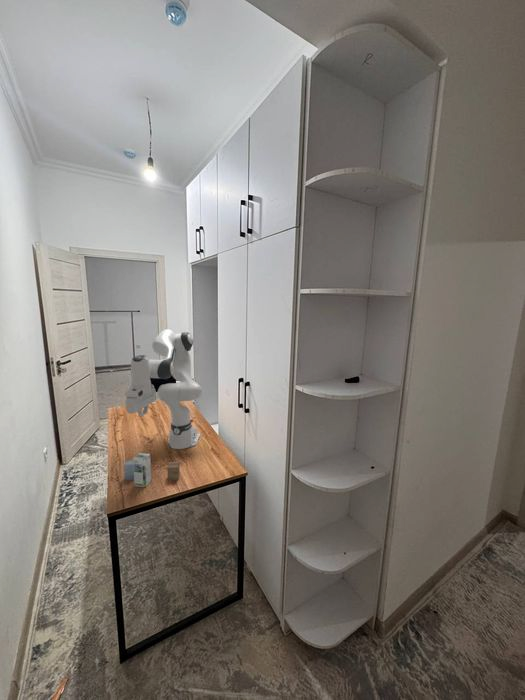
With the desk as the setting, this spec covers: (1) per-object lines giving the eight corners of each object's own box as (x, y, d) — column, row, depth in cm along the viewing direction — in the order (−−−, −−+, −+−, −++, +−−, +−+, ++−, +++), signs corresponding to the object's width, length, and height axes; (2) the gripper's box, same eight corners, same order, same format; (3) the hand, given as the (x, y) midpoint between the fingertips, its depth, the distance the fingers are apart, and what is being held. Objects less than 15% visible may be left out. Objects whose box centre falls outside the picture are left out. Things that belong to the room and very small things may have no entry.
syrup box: (134, 486, 138) (132, 458, 135) (141, 479, 143) (139, 452, 141) (145, 487, 137) (143, 459, 135) (151, 480, 143) (150, 453, 140)
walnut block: (169, 474, 148) (168, 462, 146) (179, 474, 148) (179, 461, 147) (167, 480, 143) (167, 467, 142) (178, 479, 144) (177, 466, 142)
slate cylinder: (128, 474, 147) (128, 459, 146) (137, 475, 147) (136, 461, 145) (122, 480, 143) (121, 465, 141) (131, 481, 142) (130, 466, 140)
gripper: (147, 382, 153) (149, 407, 155) (122, 394, 133) (124, 422, 135) (158, 383, 152) (159, 408, 154) (134, 395, 132) (136, 423, 134)
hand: (143, 415), depth 144 cm, fingers open, 2 cm apart
